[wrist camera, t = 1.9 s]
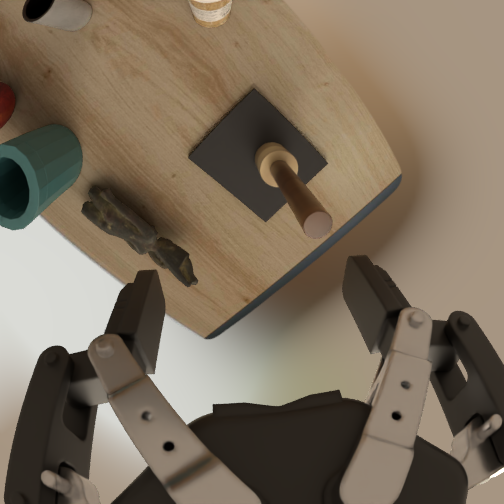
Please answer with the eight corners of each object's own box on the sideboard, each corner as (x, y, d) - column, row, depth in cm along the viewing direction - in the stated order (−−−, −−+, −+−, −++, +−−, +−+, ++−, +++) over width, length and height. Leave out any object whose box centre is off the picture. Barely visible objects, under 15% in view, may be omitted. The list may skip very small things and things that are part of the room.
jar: (19, 167, 31) (-28, 199, 21) (46, 111, 28) (-7, 128, 18) (63, 203, 36) (23, 245, 26) (94, 149, 33) (52, 177, 23)
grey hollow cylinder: (98, 11, 22) (63, -7, 14) (75, 37, 24) (34, 28, 15) (80, -3, 20) (43, -21, 12) (57, 22, 22) (15, 13, 13)
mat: (188, 156, 35) (188, 158, 35) (253, 88, 32) (254, 88, 31) (265, 220, 41) (265, 222, 41) (326, 162, 38) (328, 163, 37)
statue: (92, 202, 39) (195, 278, 44) (71, 218, 35) (184, 301, 39) (105, 170, 36) (218, 252, 41) (83, 184, 31) (207, 275, 36)
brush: (247, 159, 36) (274, 227, 20) (271, 135, 34) (322, 183, 18) (271, 181, 38) (314, 262, 22) (295, 158, 36) (357, 223, 20)
